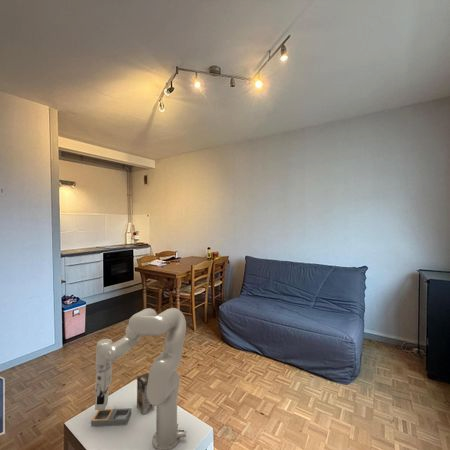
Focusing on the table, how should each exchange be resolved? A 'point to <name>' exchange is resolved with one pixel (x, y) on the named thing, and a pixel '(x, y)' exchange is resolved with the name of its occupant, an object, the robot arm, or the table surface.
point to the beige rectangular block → (102, 406)
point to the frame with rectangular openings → (111, 417)
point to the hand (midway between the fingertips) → (102, 400)
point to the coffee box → (143, 394)
